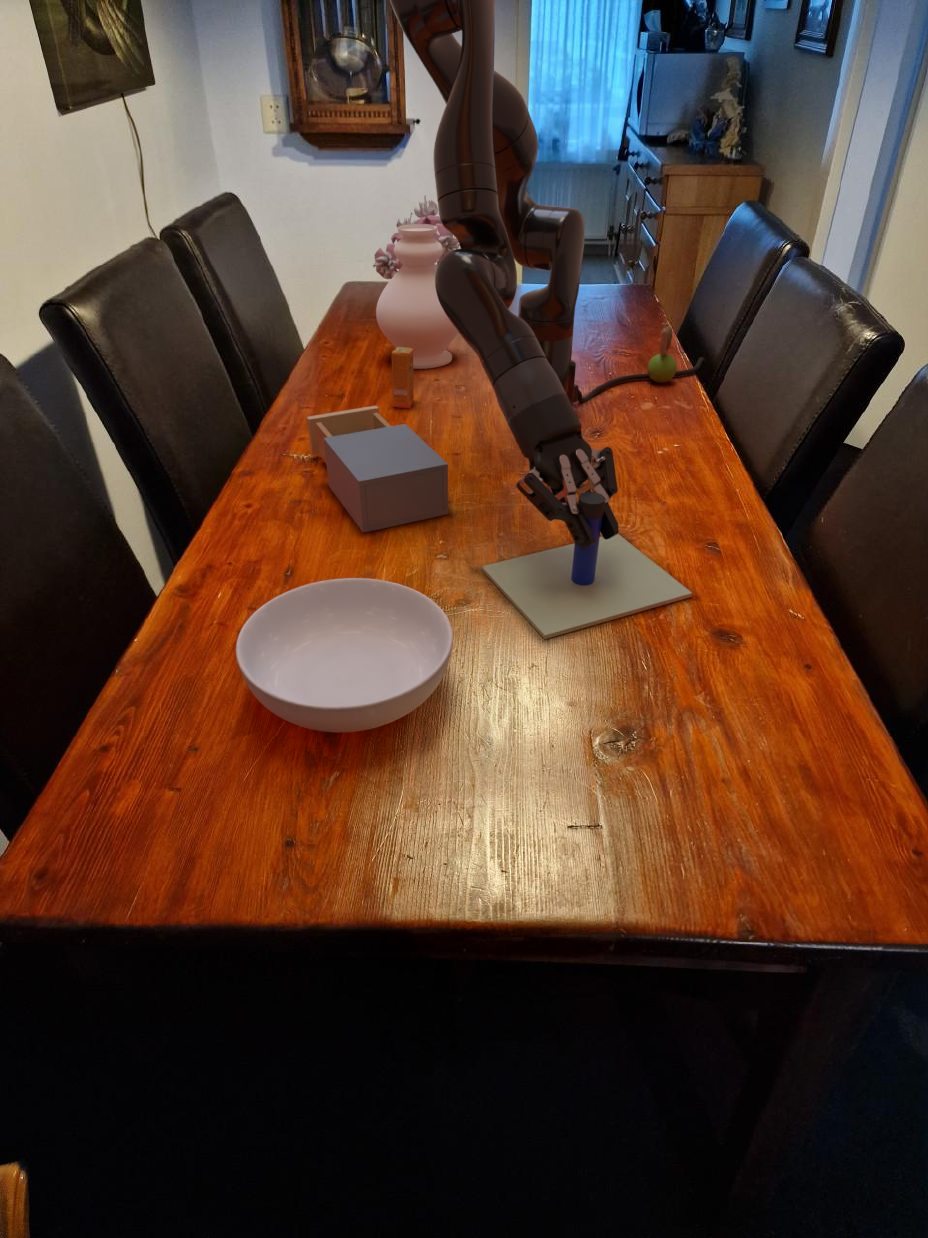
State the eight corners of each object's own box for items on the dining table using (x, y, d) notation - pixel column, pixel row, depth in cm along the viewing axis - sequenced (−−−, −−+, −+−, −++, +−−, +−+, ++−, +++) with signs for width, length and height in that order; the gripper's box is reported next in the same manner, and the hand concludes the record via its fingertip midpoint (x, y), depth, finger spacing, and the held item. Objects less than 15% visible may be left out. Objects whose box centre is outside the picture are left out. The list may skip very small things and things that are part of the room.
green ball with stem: (642, 386, 156) (650, 321, 149) (648, 375, 161) (657, 312, 154) (670, 389, 154) (680, 324, 147) (676, 379, 159) (686, 315, 152)
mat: (616, 536, 109) (617, 532, 108) (691, 597, 97) (692, 592, 96) (481, 570, 102) (481, 565, 101) (544, 639, 90) (544, 635, 89)
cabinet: (328, 486, 121) (323, 437, 117) (407, 470, 125) (405, 423, 121) (363, 533, 109) (358, 481, 105) (448, 514, 114) (448, 463, 109)
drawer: (303, 442, 132) (299, 407, 129) (369, 430, 136) (367, 396, 133) (338, 488, 118) (334, 451, 115) (411, 474, 122) (410, 437, 119)
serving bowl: (272, 790, 72) (261, 732, 68) (229, 656, 88) (217, 603, 84) (487, 725, 79) (488, 669, 75) (411, 611, 94) (408, 560, 90)
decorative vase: (481, 362, 168) (482, 229, 153) (407, 378, 159) (401, 240, 145) (434, 341, 180) (431, 216, 165) (363, 355, 171) (354, 225, 157)
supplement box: (410, 408, 146) (408, 352, 141) (392, 407, 147) (389, 351, 141) (415, 402, 149) (413, 347, 143) (397, 401, 150) (394, 345, 144)
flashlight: (586, 570, 100) (596, 489, 94) (599, 582, 98) (610, 500, 92) (565, 575, 99) (573, 494, 93) (578, 588, 97) (587, 505, 91)
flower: (343, 302, 201) (355, 207, 180) (413, 277, 212) (431, 186, 191) (394, 353, 195) (412, 262, 175) (463, 325, 206) (487, 236, 186)
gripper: (504, 405, 88) (573, 549, 87) (598, 379, 95) (663, 512, 94) (474, 436, 95) (538, 570, 94) (564, 410, 101) (624, 534, 100)
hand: (600, 540), depth 94 cm, fingers open, 3 cm apart
